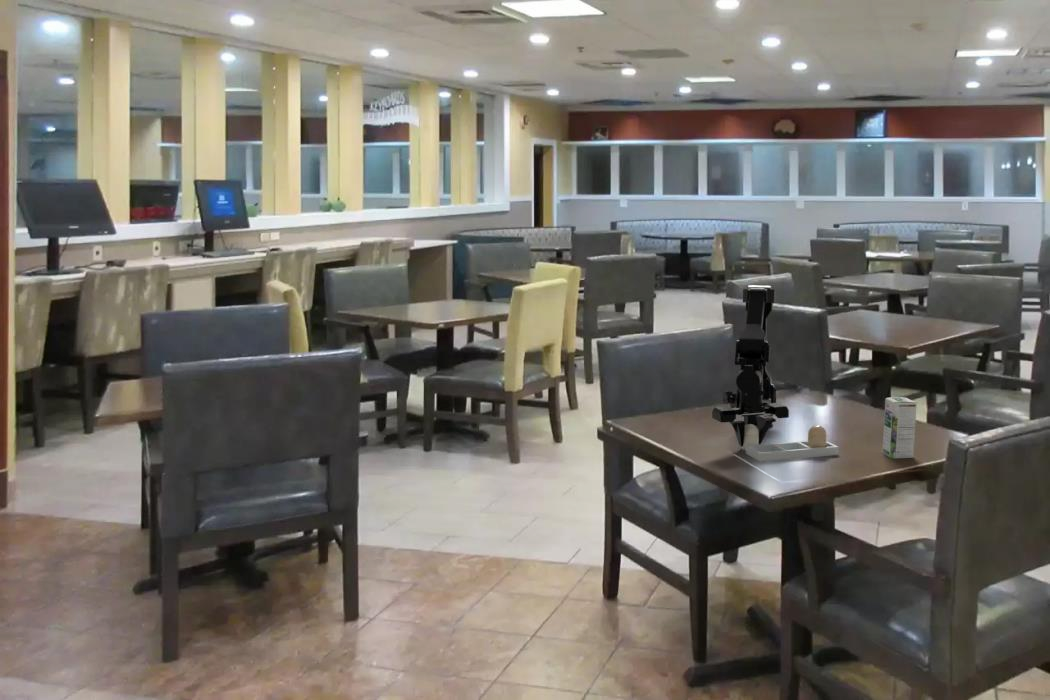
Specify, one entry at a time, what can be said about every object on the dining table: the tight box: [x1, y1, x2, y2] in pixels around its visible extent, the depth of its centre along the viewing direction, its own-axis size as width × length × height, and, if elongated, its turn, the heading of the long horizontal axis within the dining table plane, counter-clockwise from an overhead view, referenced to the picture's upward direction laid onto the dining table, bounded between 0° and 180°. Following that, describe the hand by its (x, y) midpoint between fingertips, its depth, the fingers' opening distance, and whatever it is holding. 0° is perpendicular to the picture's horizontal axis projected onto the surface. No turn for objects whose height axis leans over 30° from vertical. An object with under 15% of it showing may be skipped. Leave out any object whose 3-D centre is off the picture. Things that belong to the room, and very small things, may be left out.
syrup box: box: [882, 396, 918, 459], centre depth 255 cm, size 6×6×14 cm
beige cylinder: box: [807, 424, 827, 448], centre depth 259 cm, size 4×4×7 cm
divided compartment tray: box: [745, 440, 840, 462], centre depth 258 cm, size 21×8×2 cm, turn 104°
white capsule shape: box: [740, 424, 759, 451], centre depth 264 cm, size 4×4×7 cm
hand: (749, 445), depth 264 cm, fingers closed on white capsule shape, 4 cm apart
